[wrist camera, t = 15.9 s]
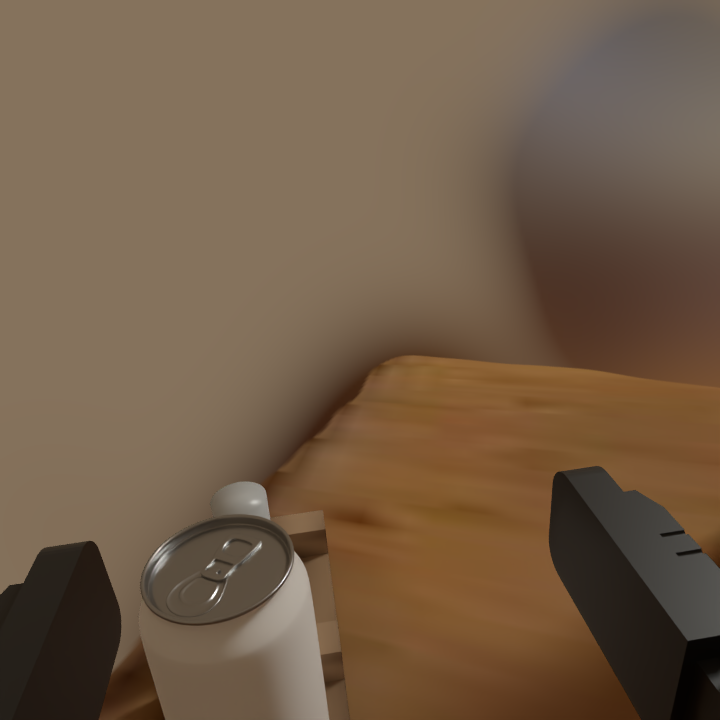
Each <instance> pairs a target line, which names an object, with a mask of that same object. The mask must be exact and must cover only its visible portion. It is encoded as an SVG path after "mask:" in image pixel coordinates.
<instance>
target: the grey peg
mask: <svg viewBox="0 0 720 720" xmlns="http://www.w3.org/2000/svg"><path fill="white" fill-rule="evenodd" d="M210 505H211V510H212V515H213V517H218V516H223V515H232V514H246V515H255V516H259V517H263V518H266V519H269V520H270V514H269V508H268V502H267V496H266V491H265V489H264V488H263V487H262V486H261V485H259V484H257V483H254V482H237V483H233V484H230V485H227V486H225V487H223V488H221V489H220V490H219V491H217V492H216V493H215V494H214V495H213V497H212V499H211V502H210Z"/></svg>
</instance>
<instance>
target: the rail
mask: <svg viewBox="0 0 720 720" xmlns="http://www.w3.org/2000/svg"><path fill="white" fill-rule="evenodd" d="M270 520H271V521H273V522H275V523H277V524H278V525H279V526H281V527H282V528H283V529H284V530H285V531H286V532H287V533H288V535H289V536H290V538H291V540H292V543H293V546H294V551H295V552H296V554H297V555H298V556H299V557H300V559H301V560H302V562H303V564H304V566H305V568H306V571H307V574H308V578H309V582H310V588H311V593H312V600H313V607H314V613H315V620H316V627H317V634H318V641H319V648H320V656H321V663H322V670H323V677H324V684H325V692H326V699H327V706H328V714H329V720H350V717H349V709H348V702H347V694H346V686H345V679H344V670H343V662H342V653H341V646H340V638H339V630H338V623H337V617H336V610H335V602H334V594H333V587H332V579H331V571H330V564H329V556H328V548H327V539H326V531H325V523H324V516H323V510H320V511H313V512H306V513H300V514H293V515H286V516H279V517H272V518H270Z"/></svg>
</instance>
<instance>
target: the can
mask: <svg viewBox="0 0 720 720" xmlns="http://www.w3.org/2000/svg"><path fill="white" fill-rule="evenodd" d="M140 589H141V594H142V601H141V605H140V610H139V629H140V635H141V639H142V643H143V647H144V650H145V654H146V657H147V661H148V664H149V667H150V671H151V674H152V678H153V681H154V684H155V688H156V691H157V694H158V698H159V701H160V704H161V707H162V711H163V714H164V717H165V720H329V714H328V706H327V699H326V692H325V684H324V677H323V670H322V663H321V656H320V648H319V641H318V634H317V627H316V620H315V613H314V607H313V600H312V593H311V588H310V582H309V578H308V574H307V571H306V568H305V566H304V564H303V562H302V560H301V559H300V557H299V556H298V555H297V554H296V552H295V551H294V546H293V543H292V540H291V538H290V536H289V535H288V533H287V532H286V531H285V530H284V529H283V528H282V527H281V526H279V525H278V524H277V523H275V522H273V521H271V520H269V519H266V518H263V517H259V516H255V515H246V514H232V515H223V516H218V517H213V518H209V519H206V520H203V521H200V522H197V523H195V524H193V525H191V526H188V527H186V528H184V529H183V530H181V531H179V532H178V533H176V534H175V535H173V536H171V537H170V538H169V539H168V540H166V541H165V542H164V543H163V544H162V545H160V546H159V547H158V549H157V550H156V551H155V552H154V553H153V554H152V556H151V557H150V559H149V560H148V562H147V563H146V565H145V567H144V570H143V572H142V576H141V582H140Z"/></svg>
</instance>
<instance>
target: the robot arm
mask: <svg viewBox="0 0 720 720" xmlns="http://www.w3.org/2000/svg"><path fill="white" fill-rule="evenodd" d="M549 547H550V553H551V557H552V560H553V564H554V566H555V569H556V571H557V573H558V575H559V577H560V579H561V580H562V582H563V584H564V586H565V587H566V589H567V591H568V593H569V594H570V596H571V598H572V599H573V601H574V603H575V605H576V606H577V608H578V610H579V612H580V613H581V615H582V617H583V619H584V620H585V622H586V624H587V626H588V627H589V629H590V631H591V633H592V634H593V636H594V638H595V640H596V641H597V643H598V645H599V646H600V648H601V650H602V652H603V653H604V655H605V657H606V659H607V660H608V662H609V664H610V666H611V667H612V669H613V671H614V673H615V674H616V676H617V678H618V680H619V681H620V683H621V685H622V687H623V688H624V690H625V692H626V693H627V695H628V697H629V699H630V700H631V702H632V704H633V706H634V707H635V709H636V711H637V713H638V714H639V716H640V718H641V720H720V568H719V567H718V566H717V565H716V564H715V563H714V562H713V561H712V560H711V558H710V557H709V556H708V555H707V554H706V553H705V554H703V553H702V550H701V547H700V546H699V545H698V544H697V543H696V542H695V541H694V540H693V539H692V538H691V537H690V535H689V534H687V535H686V534H685V532H684V529H683V528H682V527H681V526H680V524H679V523H678V522H677V521H676V520H675V519H674V518H673V517H672V516H671V515H670V514H669V512H668V511H667V510H666V509H665V508H664V507H662V506H661V505H659V504H657V503H656V502H654V501H652V500H651V499H649V498H647V497H646V496H644V495H642V494H641V493H639V492H638V491H636V490H633V491H627V492H623V491H622V489H621V488H620V487H619V486H618V485H617V484H616V482H615V481H614V480H613V479H612V478H611V476H610V475H609V474H608V473H607V472H606V471H605V470H604V469H603V468H602V467H599V466H594V467H587V468H581V469H574V470H568V471H561V472H557V473H556V474H555V476H554V479H553V488H552V501H551V515H550V529H549ZM120 637H121V615H120V609H119V605H118V602H117V599H116V596H115V593H114V591H113V588H112V585H111V582H110V579H109V576H108V574H107V571H106V568H105V565H104V563H103V560H102V557H101V554H100V552H99V549H98V547H97V545H96V544H95V543H94V542H93V541H86V542H80V543H74V544H67V545H59V546H53V547H47V548H44V549H42V550H41V551H40V552H39V554H38V555H37V557H36V559H35V561H34V564H33V566H32V567H31V569H30V571H29V573H28V576H27V577H26V579H25V581H24V583H22V584H16V585H10V586H9V587H8V588H7V589H6V590H5V591H4V592H3V593H2V594H1V595H0V720H98V719H99V716H100V712H101V709H102V705H103V701H104V698H105V694H106V690H107V687H108V683H109V680H110V676H111V672H112V669H113V665H114V662H115V658H116V654H117V651H118V647H119V643H120Z"/></svg>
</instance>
